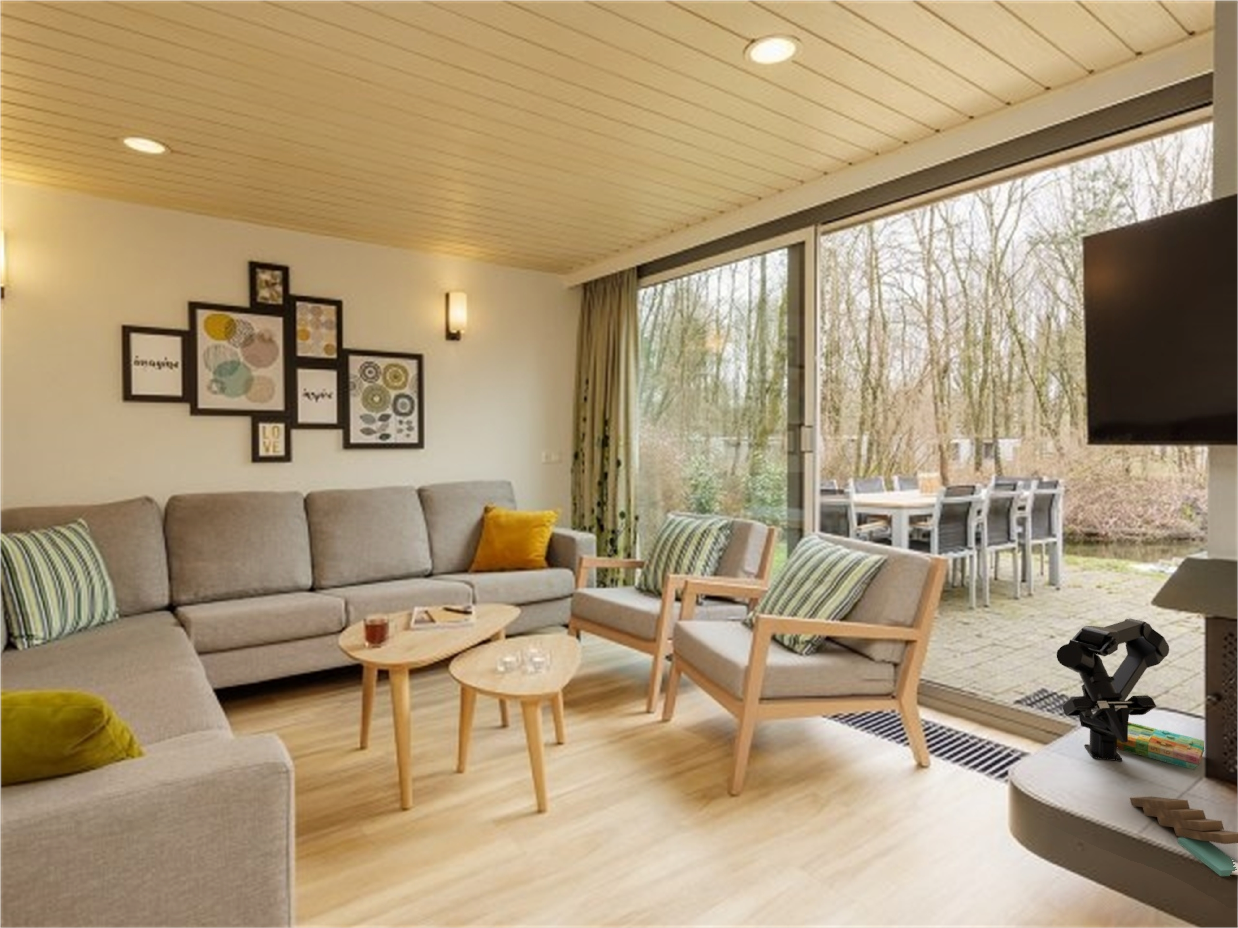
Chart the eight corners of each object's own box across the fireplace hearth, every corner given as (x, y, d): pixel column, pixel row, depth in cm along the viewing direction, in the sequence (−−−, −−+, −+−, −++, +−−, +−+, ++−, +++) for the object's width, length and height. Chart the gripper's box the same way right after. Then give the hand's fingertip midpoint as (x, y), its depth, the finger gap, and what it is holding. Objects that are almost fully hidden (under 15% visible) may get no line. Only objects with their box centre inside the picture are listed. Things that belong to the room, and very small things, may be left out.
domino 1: (1129, 797, 155) (1165, 801, 145) (1150, 796, 155) (1187, 799, 146) (1132, 805, 154) (1167, 809, 145) (1153, 804, 154) (1189, 808, 145)
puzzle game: (1199, 755, 166) (1100, 729, 180) (1198, 774, 166) (1099, 746, 181) (1206, 738, 174) (1110, 714, 188) (1205, 756, 174) (1109, 731, 189)
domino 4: (1173, 827, 143) (1222, 834, 134) (1193, 825, 144) (1242, 832, 135) (1176, 835, 143) (1224, 843, 133) (1195, 834, 143) (1245, 842, 134)
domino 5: (1178, 837, 141) (1220, 870, 131) (1202, 836, 141) (1247, 869, 131) (1178, 844, 141) (1220, 878, 131) (1202, 843, 141) (1246, 877, 131)
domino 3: (1157, 816, 147) (1199, 821, 138) (1177, 815, 148) (1221, 820, 138) (1159, 825, 146) (1202, 830, 137) (1180, 823, 147) (1224, 829, 138)
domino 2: (1142, 806, 151) (1180, 811, 142) (1163, 805, 151) (1203, 809, 142) (1145, 815, 150) (1183, 819, 141) (1166, 813, 151) (1206, 818, 141)
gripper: (1117, 689, 175) (1147, 753, 165) (1042, 690, 176) (1067, 754, 166) (1140, 671, 167) (1174, 737, 156) (1061, 672, 167) (1089, 738, 157)
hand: (1124, 742), depth 159 cm, fingers closed
